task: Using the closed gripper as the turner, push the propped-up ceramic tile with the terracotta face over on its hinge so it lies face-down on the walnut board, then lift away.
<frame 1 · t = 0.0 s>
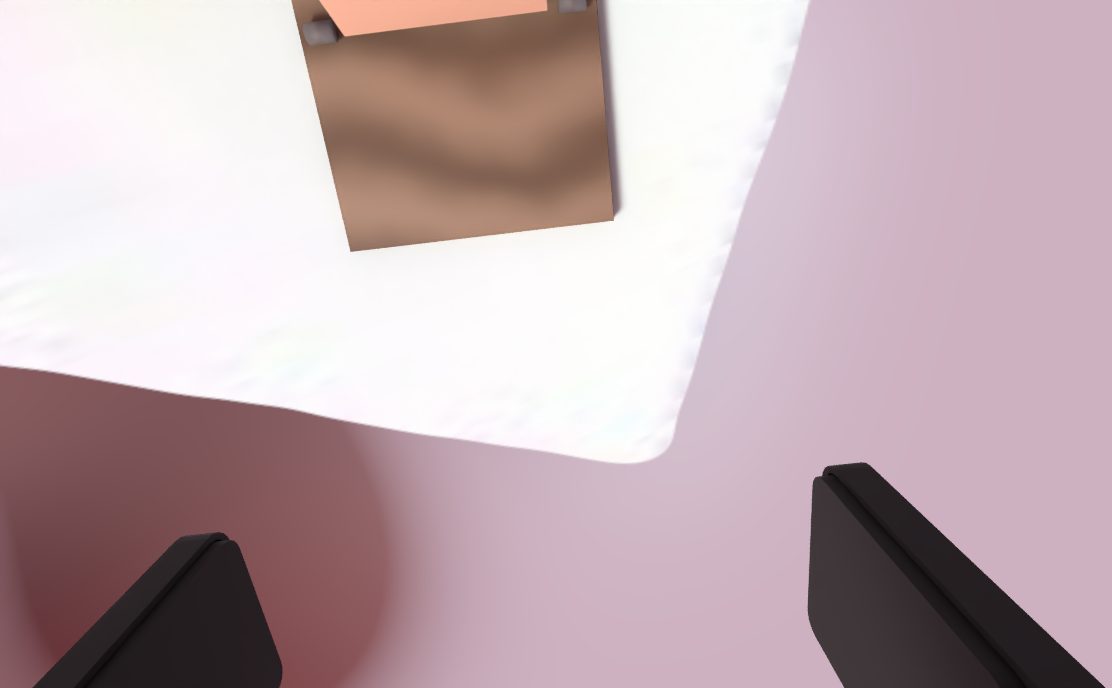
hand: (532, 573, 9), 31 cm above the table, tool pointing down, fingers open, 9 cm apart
hinge board: (453, 41, 34), on the table
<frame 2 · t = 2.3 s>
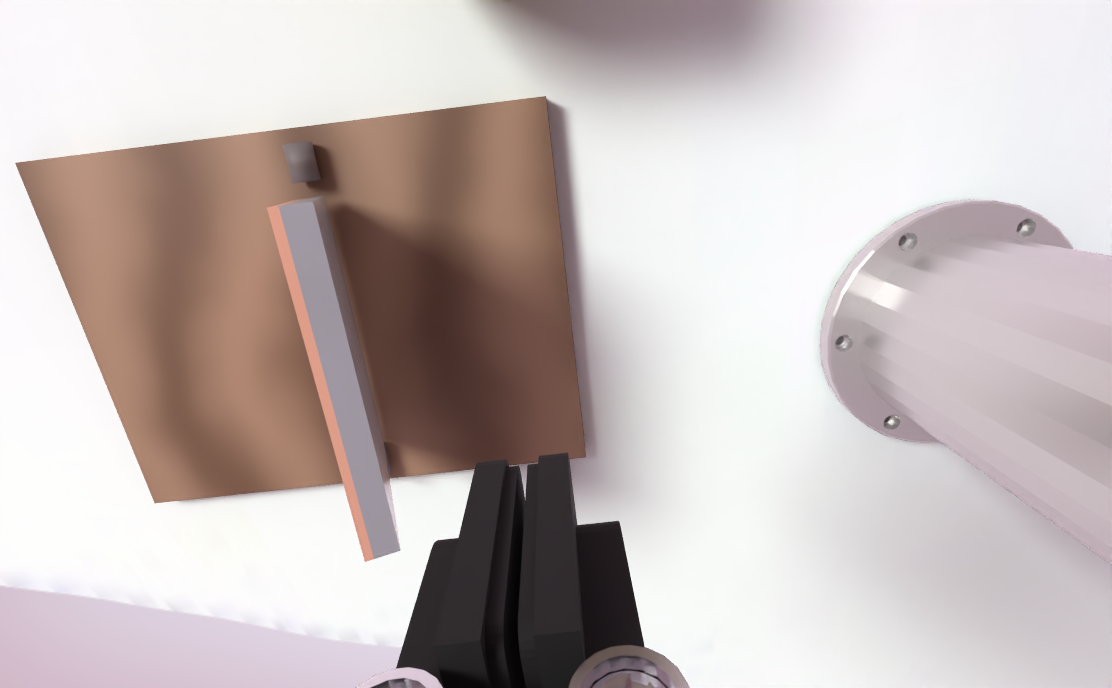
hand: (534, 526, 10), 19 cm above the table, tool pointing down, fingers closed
hinge board: (334, 318, 28), on the table
tile: (342, 355, 22), point 7 cm above the table, hinge at 70.0°
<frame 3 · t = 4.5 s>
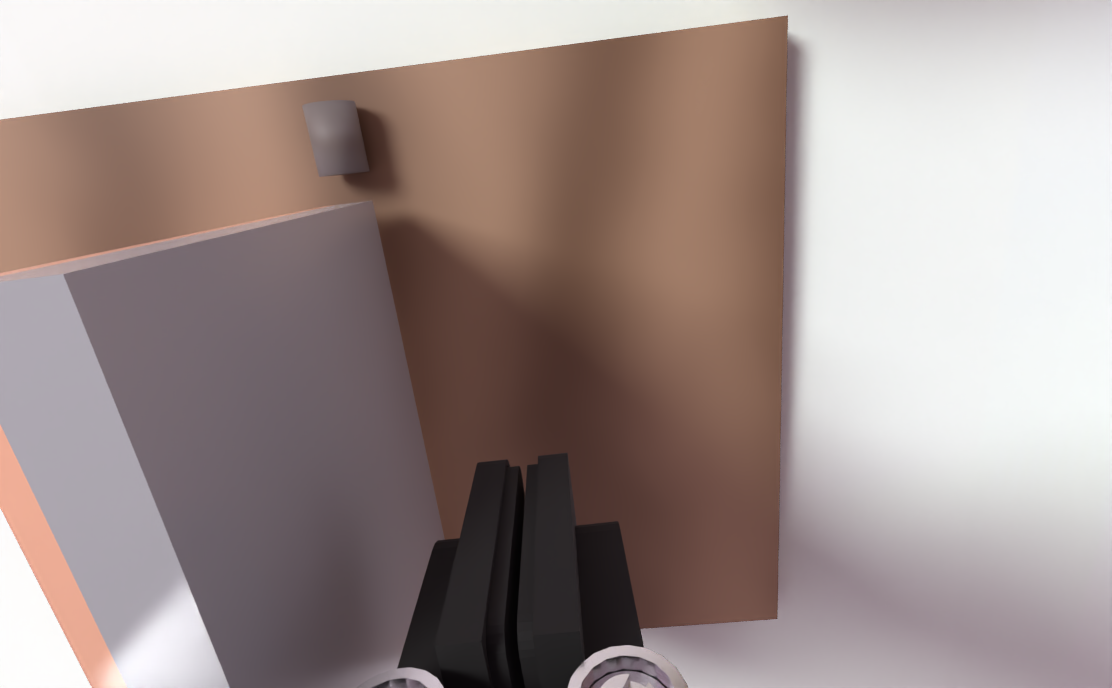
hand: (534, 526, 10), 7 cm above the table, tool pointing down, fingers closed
hinge board: (383, 397, 17), on the table
tile: (350, 534, 11), point 7 cm above the table, hinge at 83.7°, touching gripper
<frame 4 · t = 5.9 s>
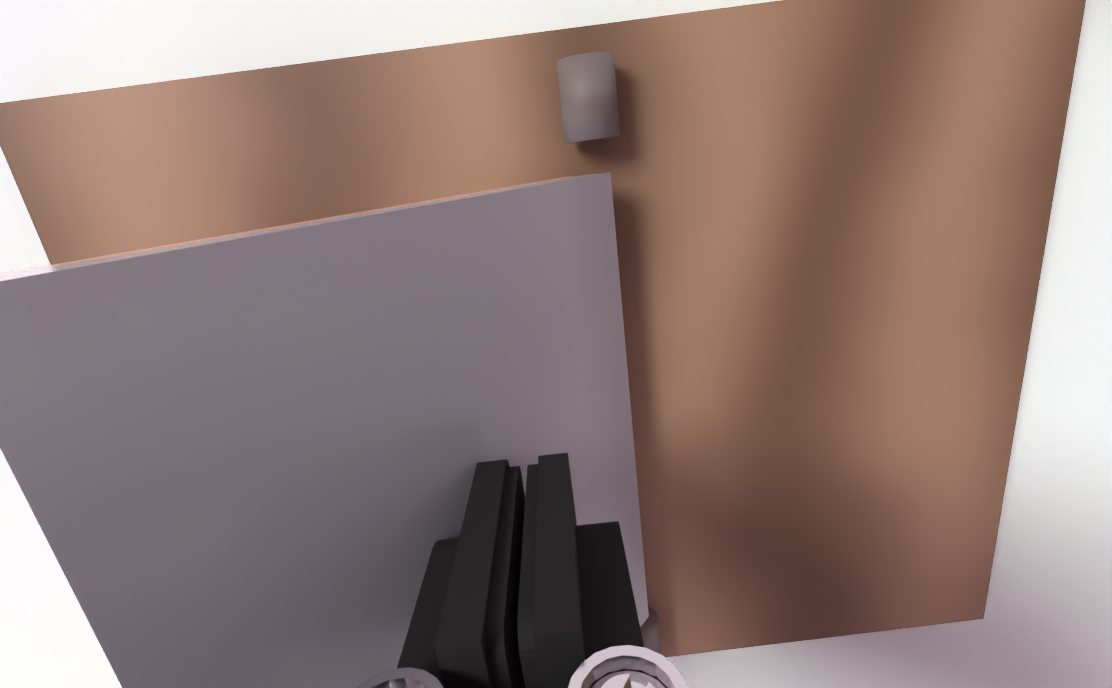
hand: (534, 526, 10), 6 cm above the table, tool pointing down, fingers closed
hinge board: (575, 395, 16), on the table
tile: (463, 533, 10), point 6 cm above the table, hinge at 131.4°, touching gripper
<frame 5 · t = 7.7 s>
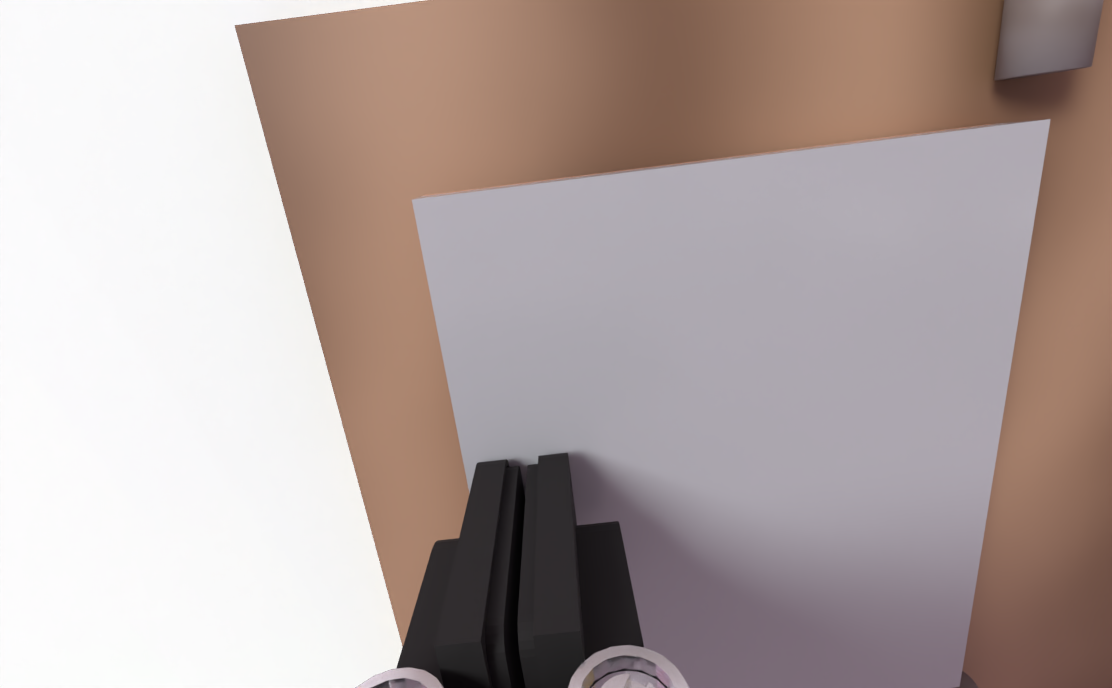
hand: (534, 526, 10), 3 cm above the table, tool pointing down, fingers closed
hinge board: (888, 409, 13), on the table
tile: (730, 476, 11), point 2 cm above the table, hinge at 176.5°, touching gripper
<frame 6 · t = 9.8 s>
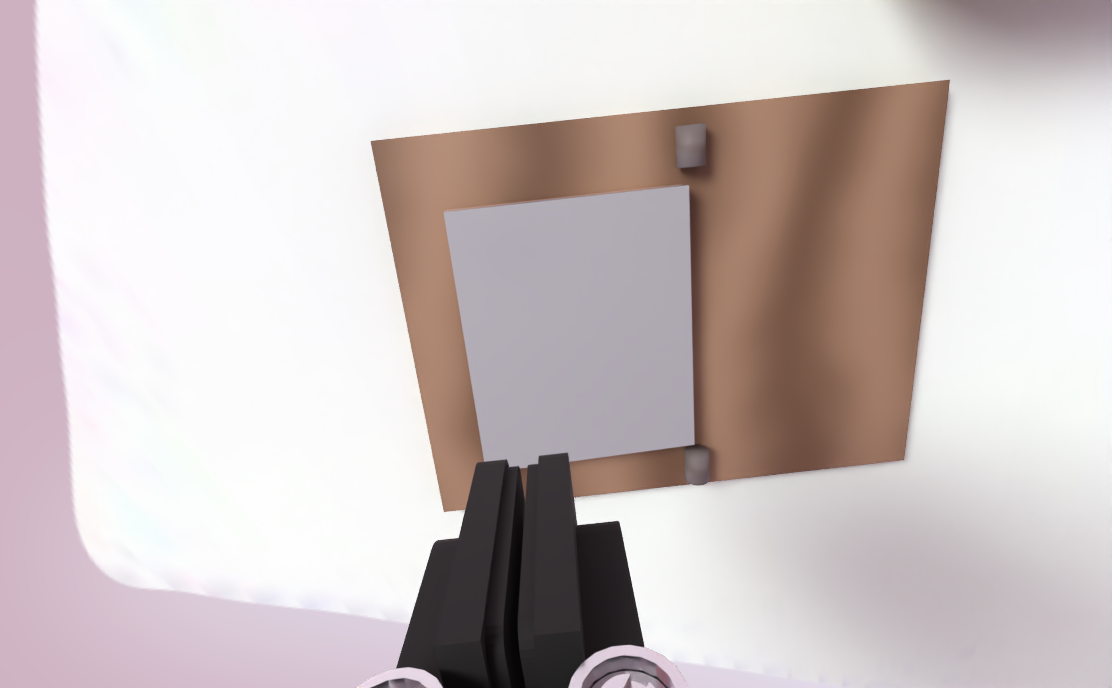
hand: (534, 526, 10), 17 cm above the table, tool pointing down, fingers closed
hinge board: (664, 313, 26), on the table
tile: (578, 335, 24), point 2 cm above the table, hinge at 177.4°
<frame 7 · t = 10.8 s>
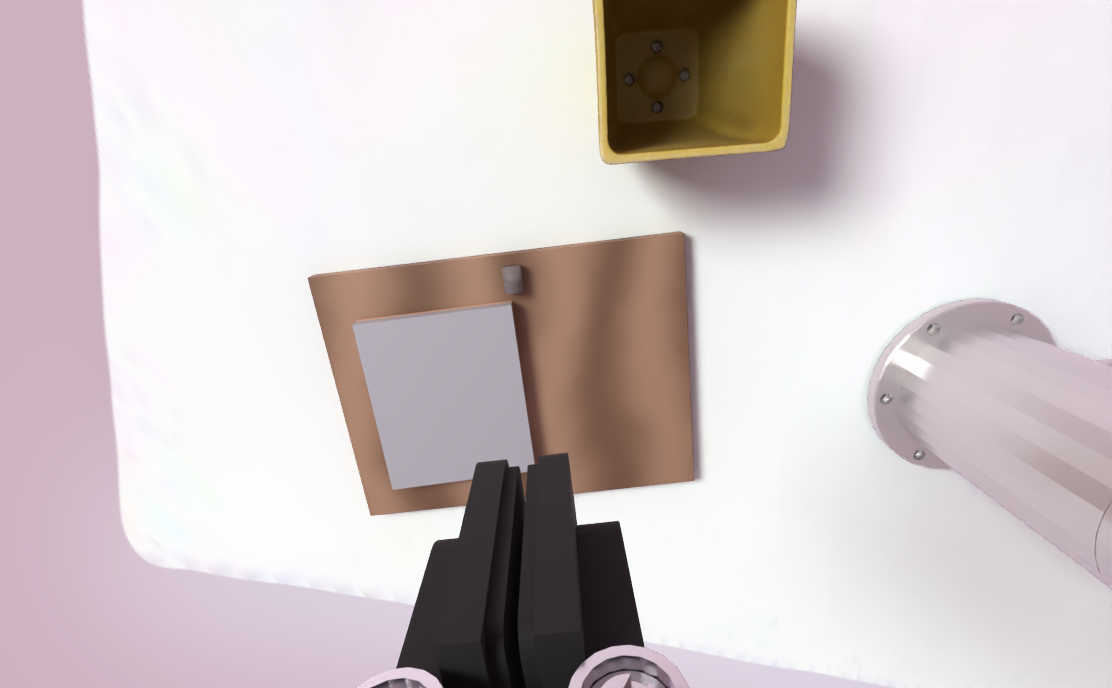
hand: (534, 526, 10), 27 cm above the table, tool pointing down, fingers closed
flower pot: (656, 81, 33), on the table
hinge board: (515, 380, 38), on the table
tile: (450, 398, 37), point 2 cm above the table, hinge at 177.4°
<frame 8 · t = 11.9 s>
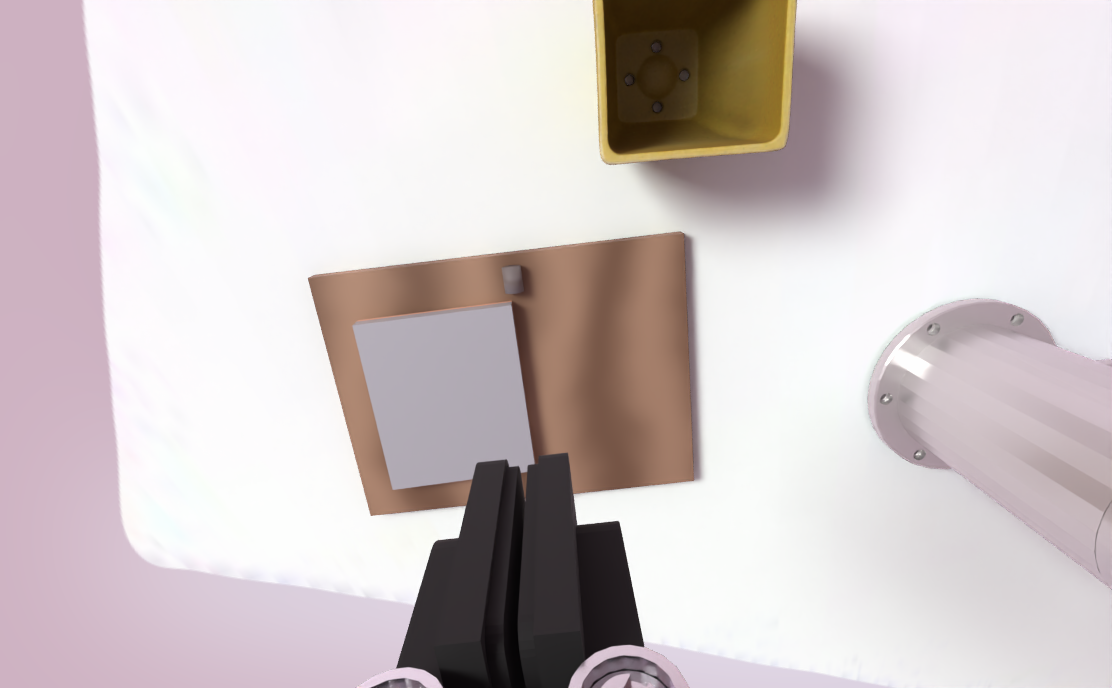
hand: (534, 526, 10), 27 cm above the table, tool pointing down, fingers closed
flower pot: (656, 81, 33), on the table
hinge board: (515, 380, 38), on the table
tile: (450, 398, 37), point 2 cm above the table, hinge at 177.4°
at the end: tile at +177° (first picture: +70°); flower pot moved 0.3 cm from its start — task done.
